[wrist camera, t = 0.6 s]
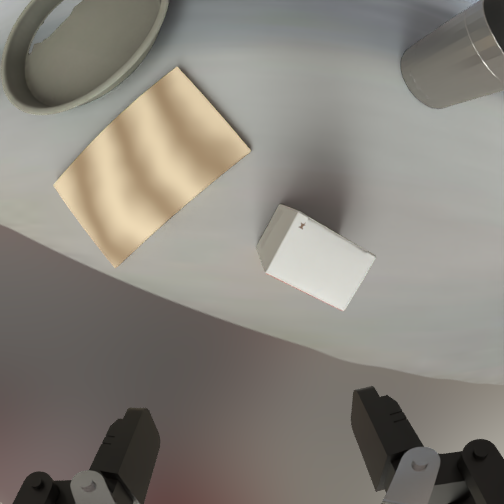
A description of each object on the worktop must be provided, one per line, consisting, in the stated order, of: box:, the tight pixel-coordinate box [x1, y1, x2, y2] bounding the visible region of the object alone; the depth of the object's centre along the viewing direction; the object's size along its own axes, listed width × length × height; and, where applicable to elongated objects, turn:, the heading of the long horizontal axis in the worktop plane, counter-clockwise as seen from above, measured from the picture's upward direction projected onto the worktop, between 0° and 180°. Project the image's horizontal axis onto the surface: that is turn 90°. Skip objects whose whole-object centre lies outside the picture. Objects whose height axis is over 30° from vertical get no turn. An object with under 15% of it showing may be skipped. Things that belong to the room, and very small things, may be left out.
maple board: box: [53, 67, 251, 268], centre depth 31 cm, size 20×13×1 cm, turn 129°
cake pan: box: [1, 0, 169, 115], centre depth 26 cm, size 25×25×4 cm
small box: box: [256, 204, 376, 311], centre depth 29 cm, size 8×6×10 cm
